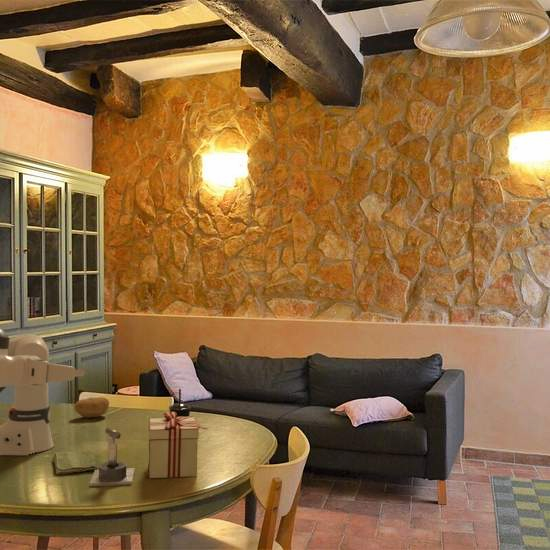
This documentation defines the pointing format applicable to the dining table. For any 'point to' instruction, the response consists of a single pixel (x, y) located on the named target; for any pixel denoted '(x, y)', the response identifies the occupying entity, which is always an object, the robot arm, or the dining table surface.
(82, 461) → the washcloth
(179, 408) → the drinking cup
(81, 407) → the potato
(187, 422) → the gift box
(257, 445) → the dining table surface
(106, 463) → the chuck socket
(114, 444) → the chuck key
